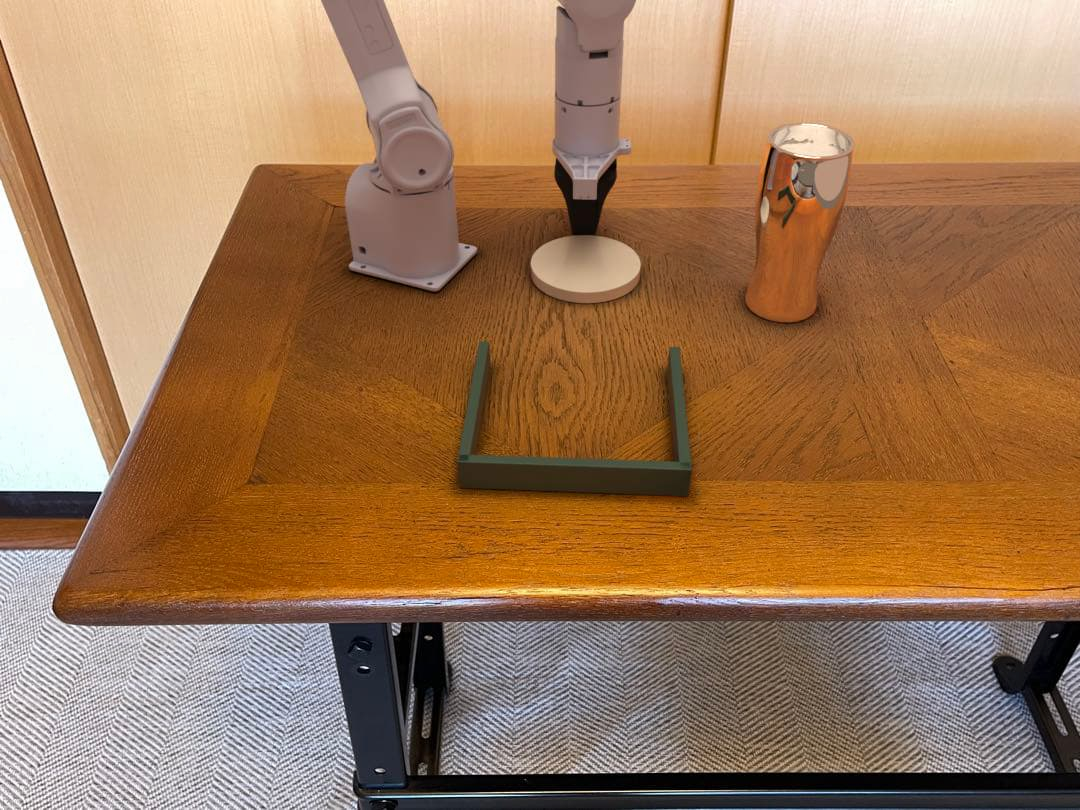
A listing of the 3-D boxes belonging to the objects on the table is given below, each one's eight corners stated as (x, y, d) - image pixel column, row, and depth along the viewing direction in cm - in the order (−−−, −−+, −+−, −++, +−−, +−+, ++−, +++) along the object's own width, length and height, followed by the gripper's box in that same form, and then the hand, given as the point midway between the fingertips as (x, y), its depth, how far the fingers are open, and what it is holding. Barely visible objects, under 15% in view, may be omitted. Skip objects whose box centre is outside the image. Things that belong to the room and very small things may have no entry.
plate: (513, 289, 83) (512, 278, 82) (554, 237, 90) (554, 226, 89) (619, 313, 80) (620, 301, 79) (653, 257, 87) (654, 246, 86)
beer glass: (822, 330, 78) (860, 162, 68) (738, 321, 79) (764, 154, 69) (820, 286, 83) (855, 124, 73) (741, 278, 84) (765, 118, 74)
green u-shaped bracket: (480, 366, 74) (479, 341, 72) (676, 372, 73) (679, 346, 72) (459, 488, 63) (456, 461, 62) (688, 496, 63) (692, 469, 61)
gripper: (636, 128, 74) (627, 274, 83) (632, 64, 85) (624, 199, 94) (548, 127, 74) (548, 273, 83) (555, 63, 86) (555, 198, 94)
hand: (583, 233), depth 89 cm, fingers closed
